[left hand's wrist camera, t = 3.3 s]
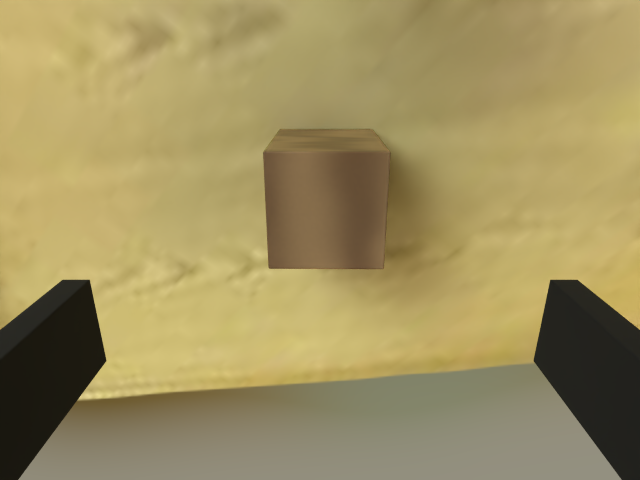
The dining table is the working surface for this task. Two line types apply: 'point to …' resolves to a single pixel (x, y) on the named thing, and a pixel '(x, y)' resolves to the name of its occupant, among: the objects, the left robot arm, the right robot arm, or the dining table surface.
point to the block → (326, 199)
